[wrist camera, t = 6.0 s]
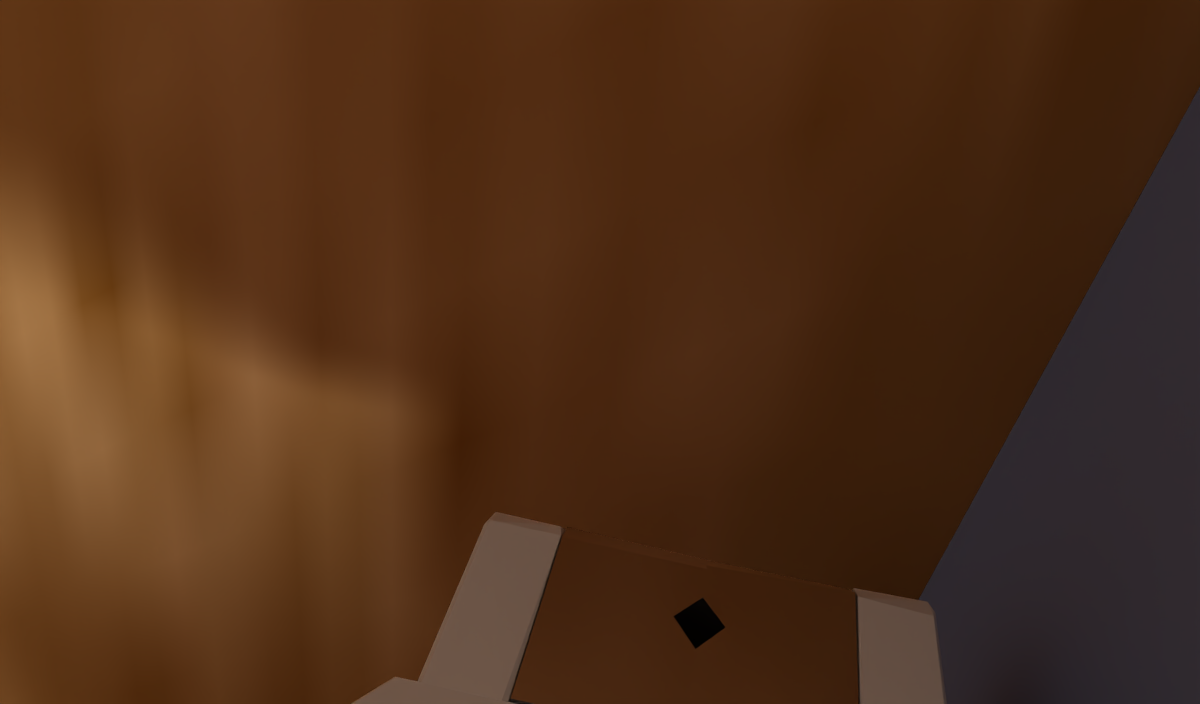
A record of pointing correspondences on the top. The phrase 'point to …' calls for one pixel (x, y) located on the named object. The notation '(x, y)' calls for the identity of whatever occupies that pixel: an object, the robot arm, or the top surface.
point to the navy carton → (1096, 489)
